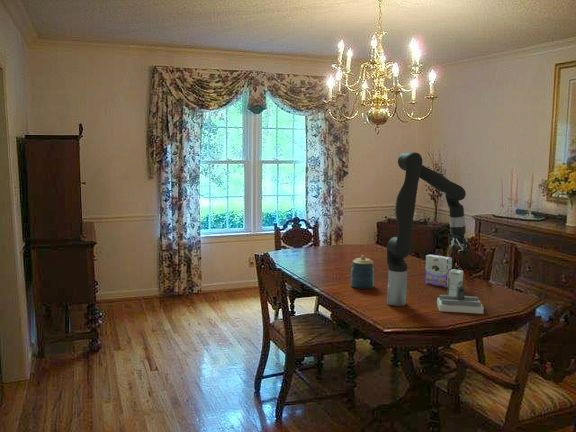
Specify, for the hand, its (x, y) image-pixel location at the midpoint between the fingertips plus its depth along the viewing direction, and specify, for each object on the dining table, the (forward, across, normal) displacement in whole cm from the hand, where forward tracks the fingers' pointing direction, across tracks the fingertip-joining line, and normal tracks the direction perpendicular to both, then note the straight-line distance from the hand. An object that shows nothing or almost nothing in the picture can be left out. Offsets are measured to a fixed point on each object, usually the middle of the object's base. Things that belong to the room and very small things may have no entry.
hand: (459, 255), depth 271 cm
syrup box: (+22, 0, -5) cm, 23 cm away
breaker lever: (+17, +16, -13) cm, 27 cm away
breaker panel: (+21, +16, -13) cm, 30 cm away
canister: (+17, -33, -41) cm, 56 cm away
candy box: (+23, -24, +1) cm, 34 cm away
